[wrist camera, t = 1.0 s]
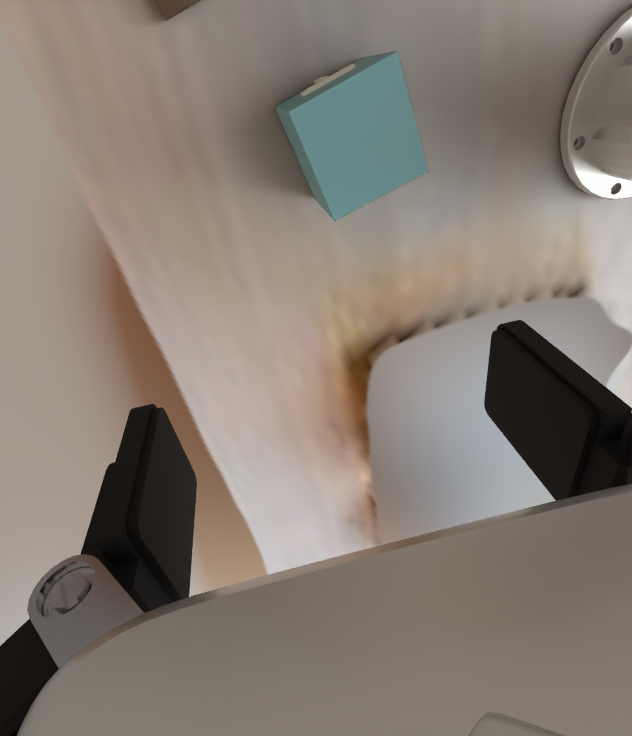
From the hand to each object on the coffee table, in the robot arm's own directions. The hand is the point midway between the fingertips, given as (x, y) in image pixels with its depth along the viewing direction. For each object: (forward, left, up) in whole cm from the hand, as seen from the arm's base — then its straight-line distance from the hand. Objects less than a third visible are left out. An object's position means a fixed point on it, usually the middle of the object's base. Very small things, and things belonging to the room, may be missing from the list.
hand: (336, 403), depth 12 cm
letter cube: (-7, -2, -21) cm, 23 cm away
